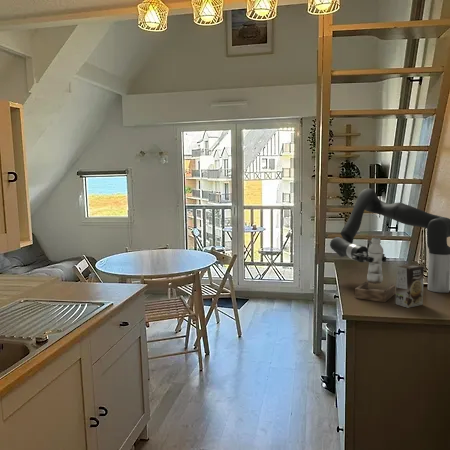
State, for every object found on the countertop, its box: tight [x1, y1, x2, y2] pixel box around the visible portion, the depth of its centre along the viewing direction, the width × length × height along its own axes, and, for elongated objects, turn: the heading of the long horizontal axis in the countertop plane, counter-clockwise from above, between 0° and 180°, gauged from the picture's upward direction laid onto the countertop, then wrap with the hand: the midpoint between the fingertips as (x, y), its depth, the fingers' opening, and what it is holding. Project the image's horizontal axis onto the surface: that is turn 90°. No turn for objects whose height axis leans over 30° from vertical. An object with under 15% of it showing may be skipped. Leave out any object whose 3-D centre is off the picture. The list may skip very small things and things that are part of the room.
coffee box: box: [395, 263, 425, 309], centre depth 177 cm, size 9×6×16 cm
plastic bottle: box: [366, 237, 384, 285], centre depth 190 cm, size 6×7×20 cm
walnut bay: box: [354, 281, 396, 303], centre depth 191 cm, size 13×15×4 cm
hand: (378, 259), depth 188 cm, fingers closed on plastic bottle, 6 cm apart
